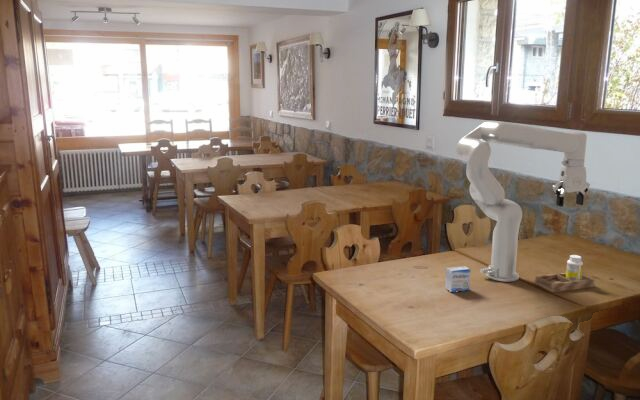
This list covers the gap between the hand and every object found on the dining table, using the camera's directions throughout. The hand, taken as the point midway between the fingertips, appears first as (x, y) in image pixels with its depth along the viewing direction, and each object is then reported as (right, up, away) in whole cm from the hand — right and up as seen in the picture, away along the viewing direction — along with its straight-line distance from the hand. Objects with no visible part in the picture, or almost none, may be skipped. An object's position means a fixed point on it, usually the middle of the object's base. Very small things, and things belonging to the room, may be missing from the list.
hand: (569, 205), depth 208 cm
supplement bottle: (-3, -30, -8) cm, 31 cm away
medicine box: (-49, -32, -13) cm, 60 cm away
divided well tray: (-7, -31, -9) cm, 33 cm away
